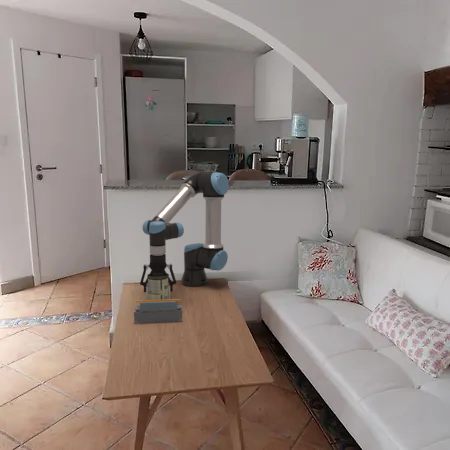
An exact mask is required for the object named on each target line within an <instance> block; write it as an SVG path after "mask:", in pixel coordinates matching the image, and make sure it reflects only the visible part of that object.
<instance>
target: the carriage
mask: <svg viewBox="0 0 450 450" xmlns="http://www.w3.org/2000/svg"><path fill="white" fill-rule="evenodd" d="M181 301H182V299H181V298H170V299H165V300H145V299H143V300H141V299H140V300H135V303H139V306H140V307H137V306H135V308H134V312H136V310H140V312H141V311H166V310H178V309H181V310H182V309H183V306H182V304H180V305H177V304H178V303H177V302H181Z"/></svg>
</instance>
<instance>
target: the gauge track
mask: <svg viewBox="0 0 450 450" xmlns="http://www.w3.org/2000/svg"><path fill="white" fill-rule="evenodd" d="M177 305H181V304H179V303H177ZM136 307H140V305H136ZM133 320H134V321H133V323H140V324H157V323H159V324H160V323H162V324H163V323H180V322H181V323H182V322H183V311H182V309H177V310H161V311H140V310H136V311H134V312H133Z"/></svg>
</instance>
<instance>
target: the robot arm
mask: <svg viewBox="0 0 450 450" xmlns="http://www.w3.org/2000/svg"><path fill="white" fill-rule="evenodd" d="M229 187H230V185H229V179H228V178H227V176H226V175H225V173H222V172H217V171H215V172H214V171H213V172H212V171H198V172H196V173H194V174H191V175H190V176H189V177H188V178H187V179H185V180H184V181H183V182H182V184H180V188H179V189H178V191H177V192H175V194H174V195H173V196H172V197H171V198H170V199H169V200H168V202H167V203H166V204H165V205H164V206H163V207H162V208H161V210H159V212H158V213H156V215H155V216H154V217H153V218H152V219H148V220H144V221H143V224H142V231H143V233H144V234H145V235H149V236H148V237H149V238H148V239H149V264H143V267H142V268H143V271H142V274H141V278H140V283H139V286H143V293H146V294H145V296H146V297H145V298H146V300H148V277H146V279H145V276H146V273H147V270H148V269H150V272H149V273H148V274H149V276H152V275H153V273H163V274H164V276H167V271H166V268H167V269H168V270H169V272H170V276H171V278H172V279H171V278H170V276H169V277H168V282H169V299H171V292H173V290H174V289H173V288H174V287H173V286H174V285H176V284H177V279H176V277H175V276H176V275H175V273H174V270H173V264H172V263H170V264H169V263H167V259H166V257H167V256H166V255H167V254H166V252H167V251H166V247H167V246H166V245H167V243H166V242H167V241H168V240H172V239H178V238H181V237H183V235H184V231H185V230H184V229H185V228H184V226H183V224H182V223H181V222H172V223H171V221H172V220H173V218H175V216H176V215H177V214H178V213H179V212H180V211H181V210H182V208H183V207H184V206H185V205H186V204H187V203H188V201H189V200H190V199H191V198H194V197H196V195H198V194H202V198H204V200H205V240H204V243H190V244H186V245H185V246H184V247H183V248H184V249H183V263H184V267H183V268H184V271H183V273H182V277H181V284H182V286H185V287H192V288H193V287H203V286H206V285H208V276H207V274H206V271H205V269H208V270H211V271H217V272H218V271H221V270H223V269H224V268H225V267H226V265H227V263H228V258H229V257H228V252H227V251H225V250H224V245H223V244H222V200H223V199H224V198H225V195H226V194H227V193H228V191H229ZM144 280H145V281H144Z"/></svg>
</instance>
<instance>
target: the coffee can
mask: <svg viewBox="0 0 450 450" xmlns="http://www.w3.org/2000/svg"><path fill="white" fill-rule="evenodd" d="M166 273H167V272H166ZM149 274H150V273H148V274H147V275H146V276H147V277H148V283H147V285H148V300H165V299H169V282H168V277H169V278H170V275H169V273H167V276H164V274H163V273H153V275H152V276H149ZM147 277H146V278H147Z"/></svg>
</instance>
